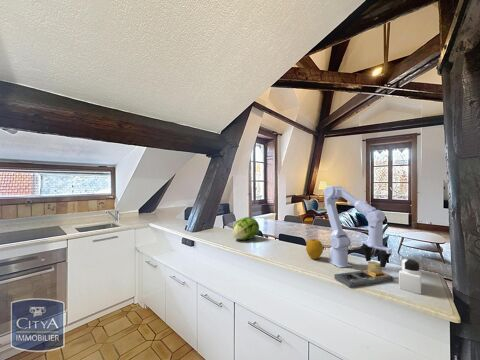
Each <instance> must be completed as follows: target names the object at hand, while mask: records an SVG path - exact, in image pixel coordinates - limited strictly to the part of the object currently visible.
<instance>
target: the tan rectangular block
mask: <svg viewBox="0 0 480 360" xmlns="http://www.w3.org/2000/svg"><path fill="white" fill-rule="evenodd" d="M367 270H368V273H370V274H372V275H375V276H382V272H383V267H381V266H380V262H377V261H367Z"/></svg>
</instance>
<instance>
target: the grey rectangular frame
mask: <svg viewBox="0 0 480 360" xmlns="http://www.w3.org/2000/svg"><path fill="white" fill-rule="evenodd" d="M393 277H394V276H393V275H391V274H388V273H385V272H383V271H382V276H375V275H372V274H370V273H368V269H365V270H356V271H349V272H343V273H335V274H334V277H333V278H334V280H336V281H337V282H339V283H341V284H342V285H345V286H346V287H347V288H350V289H351V288H352V289H353V288H357V287H362V286H369V285H375V284H380V283H386V282H394V281H393V280H394V278H393ZM349 279H351V280H349Z"/></svg>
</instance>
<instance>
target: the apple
mask: <svg viewBox="0 0 480 360" xmlns="http://www.w3.org/2000/svg"><path fill="white" fill-rule="evenodd" d="M305 247H306V248H305V251H306V253H307V255H308V257H309V258H310V259H312V260H317V259H320V257H321V256H322V254H323V251H324V246H323V244H322V242H321V241H320V240H319V239H318V238H311V239H309V240H308V241H307V243H306V246H305Z"/></svg>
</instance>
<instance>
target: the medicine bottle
mask: <svg viewBox="0 0 480 360" xmlns="http://www.w3.org/2000/svg"><path fill="white" fill-rule="evenodd" d="M398 288H399V289H400V290H403V291H407V292H410V293H414V294H417V295H421V294H422V271H420V263H419V262H418V261H416V260H414V259H410V258H403V259H401V260H400V269H399V271H398Z"/></svg>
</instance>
